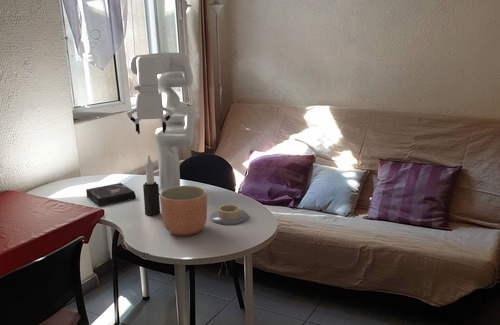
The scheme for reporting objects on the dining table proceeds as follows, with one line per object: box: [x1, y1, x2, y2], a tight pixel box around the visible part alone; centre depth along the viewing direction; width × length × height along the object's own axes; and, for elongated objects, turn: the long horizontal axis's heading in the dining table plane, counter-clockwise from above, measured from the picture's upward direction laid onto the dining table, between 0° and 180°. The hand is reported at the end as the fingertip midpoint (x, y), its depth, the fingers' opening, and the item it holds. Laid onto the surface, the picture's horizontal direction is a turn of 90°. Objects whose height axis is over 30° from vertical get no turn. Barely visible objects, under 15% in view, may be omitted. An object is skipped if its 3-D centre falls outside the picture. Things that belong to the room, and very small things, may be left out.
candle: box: [142, 155, 161, 218], centre depth 181 cm, size 5×5×25 cm
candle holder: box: [210, 203, 249, 226], centre depth 179 cm, size 15×15×4 cm
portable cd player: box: [85, 182, 137, 207], centre depth 204 cm, size 16×17×4 cm
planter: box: [159, 185, 208, 237], centre depth 165 cm, size 17×17×15 cm
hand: (151, 132), depth 176 cm, fingers open, 9 cm apart
